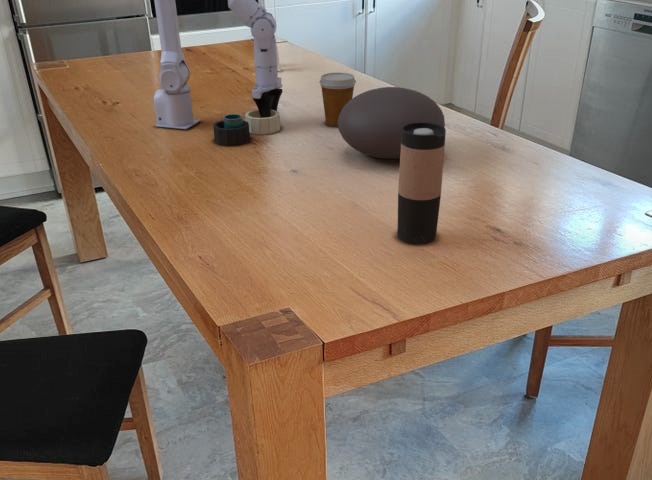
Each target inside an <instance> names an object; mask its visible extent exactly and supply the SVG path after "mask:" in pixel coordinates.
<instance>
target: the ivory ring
mask: <svg viewBox="0 0 652 480" xmlns="http://www.w3.org/2000/svg"><path fill="white" fill-rule="evenodd" d="M280 116H281V115H280V112H279V111H278V110H277V111H275V110H271V117H268V118H261V117H260V113H259V110H258V108H257V109H252V110H248V111H247V112H245V113H244V118H245V120H244V121H247V122H248V124H249V134H252V135H270V134H274V133H278V132H279V131H280V130H281V117H280Z"/></svg>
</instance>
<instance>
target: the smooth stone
mask: <svg viewBox="0 0 652 480" xmlns="http://www.w3.org/2000/svg"><path fill="white" fill-rule="evenodd" d="M419 122H426V123H434V124H438V125H441V126H443V127H444V128H446V121H445V115H444V112H443V110H442V108H441V107H440V106H439V105H438V104H437V102H436V101H434V100H433V99H432V98H431V97H429V96H427V95H426V94H424V93H422V92H419V91H417V90H414V89H412V88H411V89H410V88H406V87H400V86H399V87H398V86H385V87H378V88H374V89H373V88H372V89H368V90H366V91H364V92H361V93H359V94H357V95H355V96H353V98H352V99H351V100H350V101H349V102H348V103H347V104H346V105H345V106H344V107H343V108H342V110H341V112H340V115H339V119H338V126H337V128H338V131H339V134H340V136H341V138H342V139H343V140H344V141H345V142H346V144H347V145H348V146H349V147H351V148H353V150H354V149H355V150H356V151H357V152H359V153H361V154H364V155H366V156H369V157H372V158H378V159H384V160H396V159H397V160H398V159H399V160H400V153H401V137H402V128H403V126H405V125H407V124H411V123H419Z"/></svg>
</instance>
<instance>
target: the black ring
mask: <svg viewBox="0 0 652 480" xmlns="http://www.w3.org/2000/svg"><path fill="white" fill-rule="evenodd" d="M212 127H213V128H212V129H213V137H214V143H215V144H217V145H220V146H226V147H233V146H234V147H235V146H241V145H245V144H247V143H248V142H250V140H251V137H250V134H251V133H249V124H248V122H247V121H246V120H244V119H243V127H240V128H235V129H224V120H219V121H216V122H214V123H213V124H212Z"/></svg>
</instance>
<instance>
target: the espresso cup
mask: <svg viewBox="0 0 652 480" xmlns="http://www.w3.org/2000/svg"><path fill="white" fill-rule="evenodd" d="M222 119H223V120H224V129H235V128H240V127H243V120H244V119H243V115H242V114H238V113H228V114H226V115H224V116H223V117H222Z"/></svg>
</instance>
